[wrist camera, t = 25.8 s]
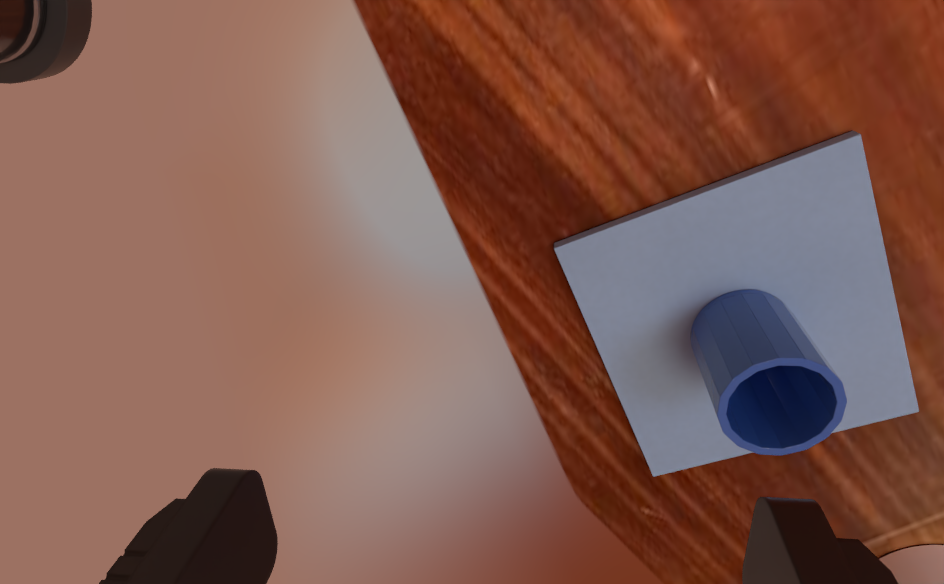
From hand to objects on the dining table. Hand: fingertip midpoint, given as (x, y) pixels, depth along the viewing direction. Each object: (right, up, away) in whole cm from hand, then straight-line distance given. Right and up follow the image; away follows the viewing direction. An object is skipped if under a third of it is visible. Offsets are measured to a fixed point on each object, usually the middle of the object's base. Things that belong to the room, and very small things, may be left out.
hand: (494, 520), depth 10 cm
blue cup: (+17, +1, +30) cm, 34 cm away
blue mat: (+17, +2, +31) cm, 35 cm away
